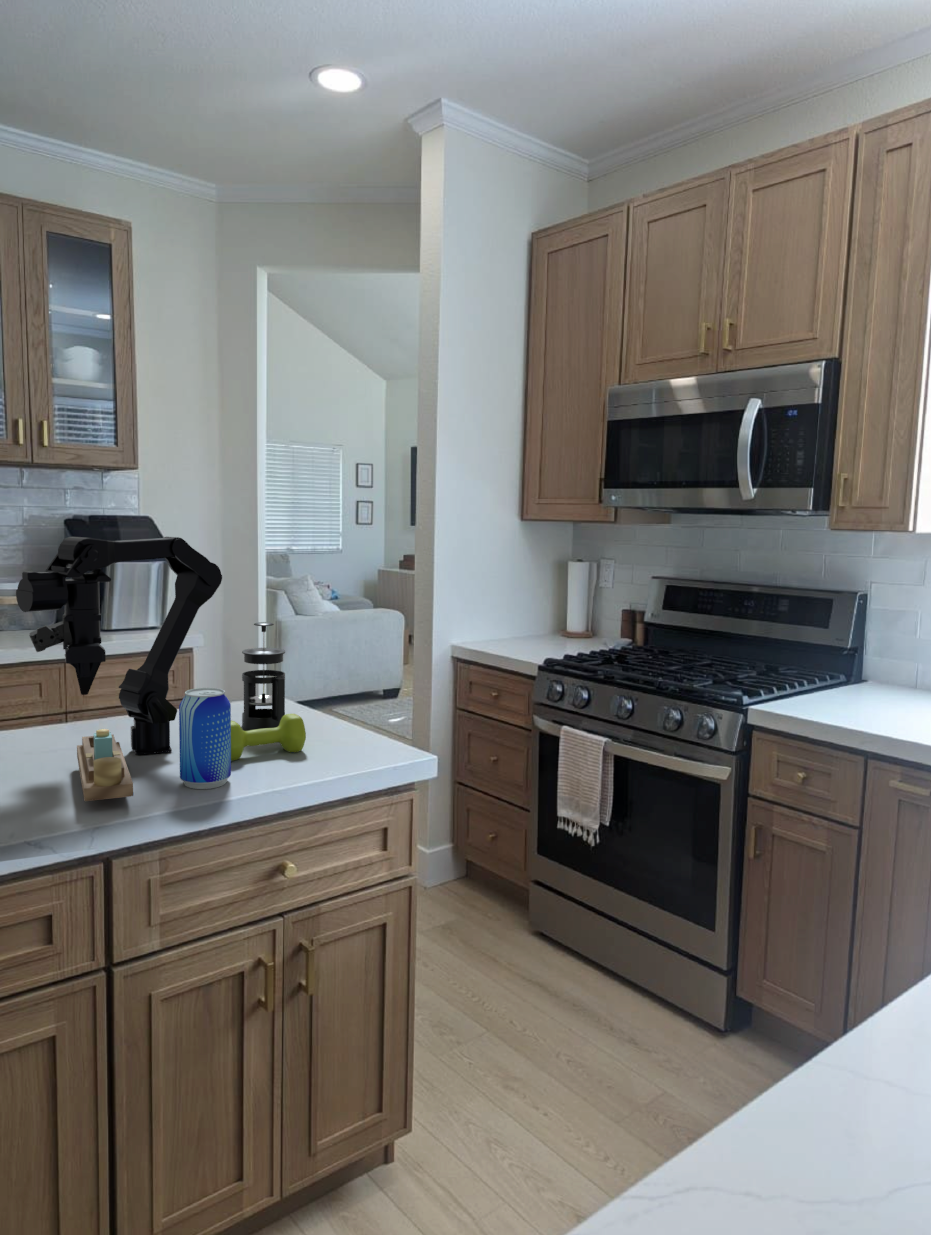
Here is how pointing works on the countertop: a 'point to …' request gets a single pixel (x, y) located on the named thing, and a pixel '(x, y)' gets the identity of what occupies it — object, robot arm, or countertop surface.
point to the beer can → (205, 738)
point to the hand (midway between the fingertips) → (84, 694)
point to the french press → (263, 717)
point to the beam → (103, 772)
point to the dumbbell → (270, 736)
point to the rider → (102, 744)
